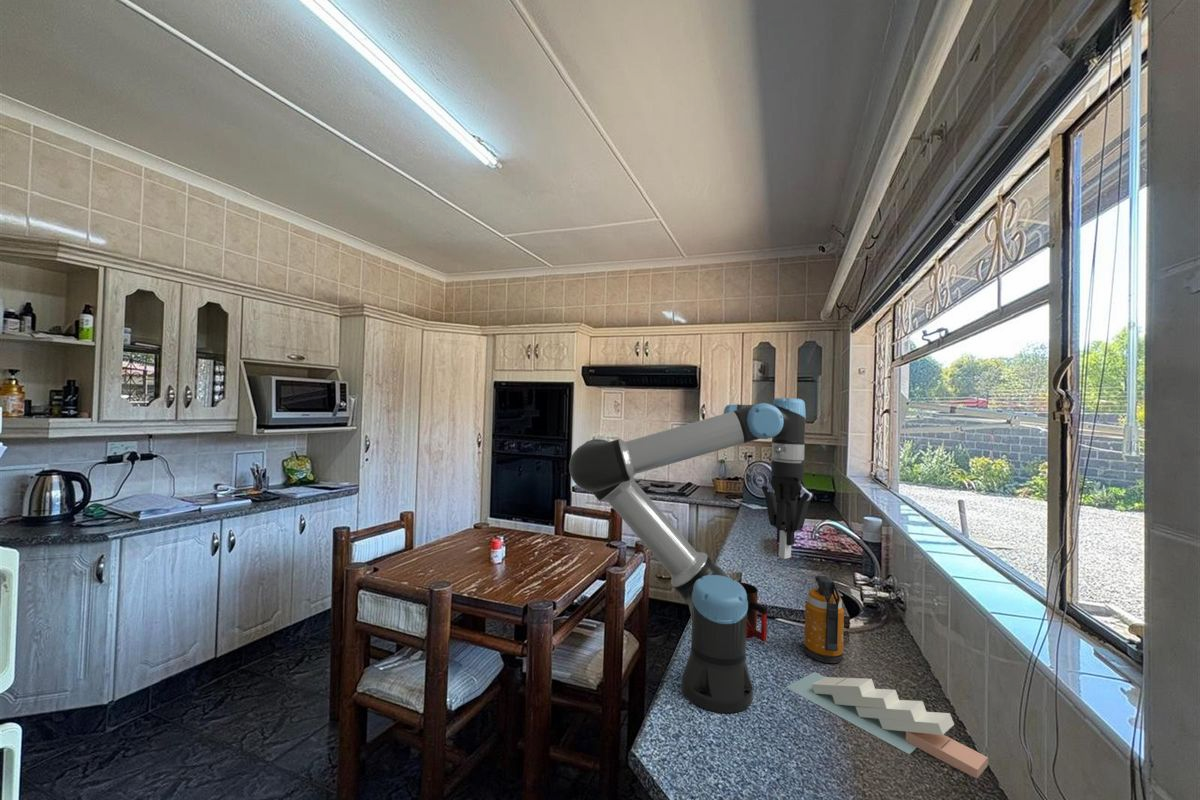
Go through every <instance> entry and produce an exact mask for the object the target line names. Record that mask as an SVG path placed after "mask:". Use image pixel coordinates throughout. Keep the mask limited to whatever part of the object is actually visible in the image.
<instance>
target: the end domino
mask: <svg viewBox="0 0 1200 800" xmlns="http://www.w3.org/2000/svg"><path fill="white" fill-rule="evenodd" d="M906 742H908V743H910V744H912V745H914V746H915V747H917V748H916V749H918V750H922V752H925V753H926V754H928V755H930V756H932V757H934V758H936V759H938V760H939V761H941V762H944V763H946V764H948V765H950V766H951V767H953V768H955V769H957V770H959V771H961V772H962V773H965V774H966V775H969V776H970V777H972V778H974V779H976V780H977V779H978V778H980V776H981V775H982V774H983V772H984V771H985V770H986V768H987V767H988V763H989V757H988V756H985V754H982V753H980V752H978V751H976V750H975V749H972V748H971V747H968V746H966V745H965V744H962V743H961V742H959V741H957V740H955V739H954V738H952V737H949V736H947V735H945V734H943V735H938V734H927V733H917V732H907V731H906Z"/></svg>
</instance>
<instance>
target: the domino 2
mask: <svg viewBox="0 0 1200 800" xmlns="http://www.w3.org/2000/svg"><path fill="white" fill-rule="evenodd" d="M832 696H833V699H834V702H835V704H837V705H849V706H861V707H872V708H884V709H887V708H889V707H890V706H891V705H893V704H894V703H896V702H897V701H898V700H900V699H899V695H898V693H897V690H896V689H889V688H888V689H887V688H885V689H884V688H875V689H873V690H872V691H870V692H869V693H867V694H866V695H864V696H863V697H861V696H846V695H832Z"/></svg>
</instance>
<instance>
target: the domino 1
mask: <svg viewBox="0 0 1200 800" xmlns="http://www.w3.org/2000/svg"><path fill="white" fill-rule="evenodd" d="M812 687H813V690H814V693H815V694H830V695H846V696H861V697H863V696H864V695H866V694H867V693H869V692H870V691H872V690H873V689H876V687H875V685H874V681H873V679H872V678H864V677H863V678H856V677H835V676H833V677H831V676H824V678H822V679H820V680H819V681H817V682H815V683H813V684H812Z"/></svg>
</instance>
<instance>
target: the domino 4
mask: <svg viewBox="0 0 1200 800" xmlns="http://www.w3.org/2000/svg"><path fill="white" fill-rule="evenodd" d="M879 720H880V723H881V726H882V729H886V730H896V731H907V732H917V733H927V734H938V735H945V734H946V733H947V732H948V731H949V730H950V729H951V728H952V727H953V726H955V722H954V720H953V718H952V715H951V713H950V712H937V711H935V712H934V711H927V712H926V713H924V714H923V715H922V716H921V717H920V718H918V719H917V720H916V721H904V720H891V719H879Z"/></svg>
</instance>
